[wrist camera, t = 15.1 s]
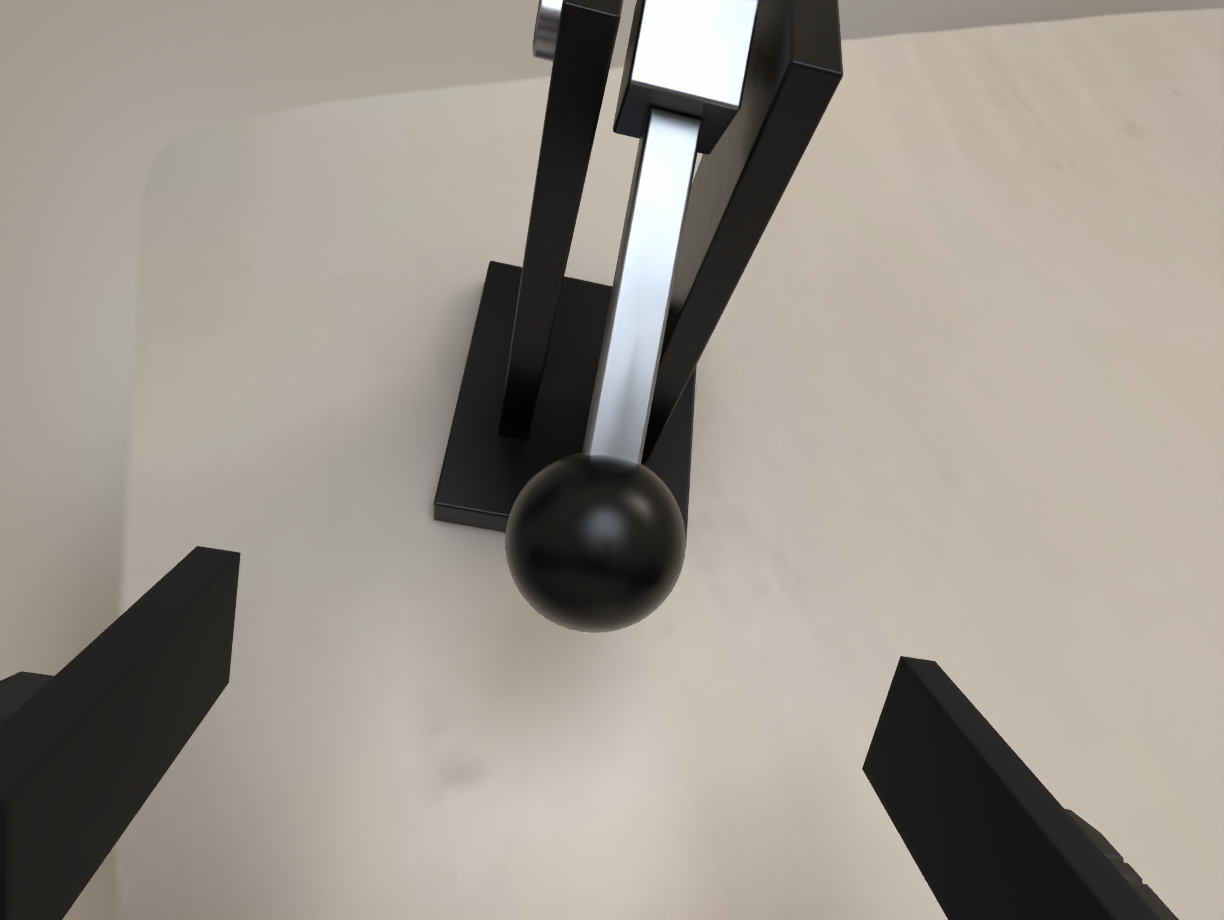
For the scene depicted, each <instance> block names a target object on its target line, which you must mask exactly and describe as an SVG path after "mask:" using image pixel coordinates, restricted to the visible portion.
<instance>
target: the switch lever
mask: <svg viewBox="0 0 1224 920" xmlns="http://www.w3.org/2000/svg"><path fill="white" fill-rule="evenodd" d="M759 4H760V0H637V3H636V6H635V11H634V16H633V22H632V27H631V33H630V38H629V43H628V49H627V54H626V60H625V65H624V70H623V76H622V81H621V87H620V92H619V98H618V103H617V108H616V114H615V119H614V125H613V132H615V133H618V134H622V135H627V136H631V137H635V138H639V139H640V141H639V146H638V151H637V157H636V162H635V168H634V173H633V179H632V184H631V190H630V195H629V201H628V206H627V211H626V217H625V222H624V228H623V233H622V239H621V244H620V250H619V255H618V261H617V266H616V271H615V277H614V282H613V288H612V293H611V299H610V304H609V310H608V315H607V320H606V326H605V331H604V337H603V342H602V348H601V353H600V359H599V364H598V370H597V375H596V380H595V386H594V391H593V397H592V402H591V408H590V413H589V419H588V424H587V430H586V435H585V440H584V446H583V451H582V453H576V454H572V455H569V456H565V457H563V458H561V459H558V460H556V461H554V462H552V463H551V464H549V465H547V466H546V467H544V468H543V469H542V470H540V471H539V472H538V473H537V474H535V475H534V476H533V477H532V478H531V479H530V480H529V481H528V483H527V484H526V485H525V486H524V488H523V489H522V490H521V492H520V493H519V495H518V497H517V499H516V500H515V502H514V504H513V507H512V509H511V512H510V514H509V518H508V522H507V527H506V535H505V550H506V557H507V562H508V566H509V569H510V573H511V575H512V577H513V580H514V582H515V584H516V586H517V587H518V589H519V591H520V592H521V594H522V596H523V597H524V598H525V599H526V600H527V602H528V603H529V604H530V605H531V606H532V607H533V608H534V609H535V610H536V611H537V612H538V613H540V614H541V615H543V616H544V617H545V618H547V619H548V620H550V621H552V622H554V623H556V624H558V625H560V626H563V627H566V628H568V629H572V630H577V631H581V632H591V633H599V632H610V631H615V630H619V629H622V628H625V627H628V626H631V625H633V624H635V623H637V622H639V621H641V620H642V619H644V618H645V617H647V616H648V615H650V614H651V613H652V612H653V611H654V610H656V609H657V608H658V607H659V606H660V605H661V604H662V603H663V602H664V600H665V599H666V598H667V596H668V595H669V594H670V592H671V591H672V589H673V587H674V586H675V584H676V582H677V580H678V577H679V575H680V572H681V570H682V566H683V562H684V557H685V548H686V536H685V528H684V522H683V519H682V515H681V511H680V509H679V507H678V504H677V502H676V500H675V498H674V496H673V495H672V493H671V491H670V490H669V489H668V487H667V486H666V485H665V483H664V482H663V481H662V480H661V479H660V478H659V477H658V476H657V475H656V474H655V473H654V472H652V471H651V470H650V469H648V468H647V467H646V466H644V465H642V464H641V459H642V454H643V448H644V443H645V437H646V432H647V426H648V421H649V415H650V410H651V404H652V399H653V393H654V388H655V382H656V377H657V371H658V366H659V360H660V355H661V349H662V344H663V338H664V333H665V327H666V322H667V316H668V311H669V305H670V300H671V294H672V289H673V284H674V278H675V273H676V267H677V262H678V256H679V251H680V245H681V240H682V234H683V229H684V223H685V218H686V212H687V207H688V201H689V196H690V190H691V185H692V179H693V174H694V168H695V163H696V157H697V152H698V153H702V154H706V155H709V154H710V153H711V152H712V150H713V149H714V147H715V146H716V144H717V143H718V141H719V140H720V138H721V137H722V135H723V134H724V132H725V131H726V129H727V128H728V126H729V124H730V123H731V121H732V120H733V118H734V117H735V115H736V114H737V112H738V111H739V109H740V108H741V103H742V98H743V92H744V87H745V81H746V76H747V70H748V65H749V59H750V54H751V48H752V42H753V37H754V31H755V26H756V20H757V15H758V9H759Z"/></svg>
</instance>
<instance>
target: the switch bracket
mask: <svg viewBox="0 0 1224 920" xmlns="http://www.w3.org/2000/svg"><path fill="white" fill-rule="evenodd" d="M622 4H623V0H540V1H539V7H538V13H537V18H536V25H535V32H534V40H533V56H534V57H536V58H540V59H544V60H549V61H552V62H553V67H552V74H551V81H550V87H549V94H548V101H547V108H546V114H545V121H544V128H543V134H542V141H541V148H540V154H539V161H538V168H537V175H536V181H535V188H534V195H533V201H532V208H531V215H530V221H529V228H528V235H527V242H526V248H525V255H524V262H523V267H518V266H513V265H509V264H504V263H499V262H495V261H490V263H489V266H488V270H487V275H486V279H485V283H484V288H483V292H482V296H481V301H480V305H479V309H478V314H477V318H476V322H475V327H474V331H473V335H472V340H471V344H470V348H469V353H468V357H467V361H466V366H465V370H464V374H463V378H462V383H461V387H460V391H459V396H458V400H457V404H456V409H455V413H454V417H453V422H452V426H451V430H450V435H449V439H448V443H447V448H446V452H445V456H444V461H443V465H442V469H441V474H440V478H439V482H438V487H437V491H436V495H435V500H434V519H436V520H442V521H448V522H454V523H460V524H466V525H471V526H477V527H483V528H489V529H495V530H501V531H506V527H507V522H508V518H509V514H510V512H511V509H512V507H513V504H514V502H515V500H516V499H517V497H518V495H519V493H520V492H521V490H522V489H523V488H524V486H525V485H526V484H527V483H528V481H529V480H530V479H531V478H532V477H533V476H534V475H535V474H537V473H538V472H539V471H540V470H542V469H543V468H544V467H546V466H547V465H549V464H551V463H552V462H554V461H556V460H558V459H561V458H563V457H565V456H569V455H572V454H576V453H582V451H583V446H584V440H585V435H586V430H587V424H588V419H589V413H590V408H591V402H592V397H593V391H594V386H595V380H596V375H597V370H598V364H599V359H600V353H601V348H602V342H603V337H604V331H605V326H606V320H607V315H608V310H609V304H610V299H611V293H612V288H613V287H612V286H607V285H603V284H598V283H593V282H588V281H584V280H579V279H574V278H570V277H565V276H564V274H565V269H566V265H567V260H568V256H569V251H570V246H571V242H572V237H573V233H574V228H575V224H576V219H577V214H578V210H579V205H580V201H581V196H582V192H583V187H584V182H585V178H586V173H587V169H588V164H589V160H590V155H591V150H592V146H593V141H594V137H595V132H596V128H597V123H598V118H599V114H600V109H601V105H602V100H603V96H604V91H605V86H606V82H607V77H608V73H609V68H610V63H611V59H612V54H613V50H614V45H615V40H616V36H617V31H618V27H619V22H620V17H621V11H622ZM842 77H843V66H842V51H841V37H840V23H839V8H838V0H760V4H759V9H758V15H757V20H756V26H755V31H754V37H753V42H752V48H751V54H750V59H749V65H748V70H747V76H746V81H745V87H744V92H743V98H742V103H741V108H740V109H739V111H738V112H737V114H736V115H735V117H734V118H733V120H732V121H731V123H730V124H729V126H728V128H727V129H726V131H725V132H724V134H723V135H722V137H721V138H720V140H719V141H718V143H717V144H716V146H715V147H714V149H713V150H712V152H711V153H710V154H709V155H706V154H703V156H702V158H701V161H700V164H699V166H698V169H697V172H696V174H695V177H694V180H693V183H692V185H691V190H690V196H689V201H688V207H687V212H686V218H685V223H684V229H683V234H682V240H681V245H680V251H679V256H678V262H677V267H676V273H675V278H674V284H673V289H672V294H671V300H670V305H669V311H668V316H667V322H666V327H665V333H664V338H663V344H662V349H661V355H660V360H659V366H658V371H657V377H656V382H655V388H654V393H653V399H652V404H651V410H650V415H649V421H648V426H647V432H646V437H645V443H644V448H643V454H642V459H641V464H642V465H644V466H646V467H647V468H648V469H650V470H651V471H652V472H654V473H655V474H656V475H657V476H658V477H659V478H660V479H661V480H662V481H663V482H664V483H665V485H666V486H667V487H668V489H669V490H670V491H671V493H672V495H673V496H674V498H675V500H676V502H677V504H678V507H679V509H680V511H681V515H682V519H683V522H684V528H685V536H686V539H687V521H688V504H689V486H690V468H691V451H692V433H693V416H694V398H695V381H696V364H697V362H698V360H699V358H700V356H701V355H702V353H703V351H704V349H705V347H706V345H707V343H708V341H709V339H710V337H711V335H712V333H713V331H714V329H715V327H716V325H717V323H718V321H719V319H720V317H721V315H722V313H723V311H724V309H725V307H726V305H727V303H728V301H729V299H730V297H731V295H732V293H733V291H734V290H735V288H736V286H737V284H738V282H739V280H740V278H741V276H742V274H743V272H744V270H745V268H746V266H747V264H748V262H749V260H750V258H751V256H752V254H753V252H754V250H755V248H756V246H757V244H758V242H759V240H760V238H761V236H762V234H763V232H764V230H765V228H766V226H767V224H768V223H769V221H770V219H771V217H772V215H773V213H774V211H775V209H776V207H777V205H778V203H779V201H780V199H781V197H782V195H783V193H784V191H785V189H786V187H787V185H788V183H789V181H790V179H791V177H792V175H793V173H794V171H795V169H796V167H797V165H798V163H799V161H800V159H801V158H802V156H803V154H804V152H805V150H806V148H807V146H808V144H809V142H810V140H811V138H812V136H813V134H814V132H815V130H816V128H817V126H818V124H819V122H820V120H821V118H822V116H823V114H824V112H825V110H826V108H827V106H828V104H829V102H830V100H831V98H832V96H833V94H834V92H835V91H836V89H837V87H838V85H839V83H840V81H841V79H842Z"/></svg>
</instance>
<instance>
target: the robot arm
mask: <svg viewBox="0 0 1224 920" xmlns="http://www.w3.org/2000/svg"><path fill="white" fill-rule="evenodd" d="M239 564H240V553H238V552H232V551H226V550H219V549H213V548H206V547H200V546H197V547H196V548H195V549H194V550H193V551H191V552H190V553H189V554H188V555H187V556H186V557H185V558H184V559H183V560H182V561H180V562H179V563H178V564H177V565H176V566H175V567H174V568H173V569H172V570H171V571H169V572H168V573H167V574H166V575H165V576H164V577H163V578H162V579H161V580H160V581H158V582H157V583H156V584H155V585H154V586H153V587H152V588H151V589H150V590H149V591H148V592H146V593H145V594H144V595H143V596H142V597H141V598H140V599H139V600H138V601H137V602H135V603H134V604H133V605H132V606H131V607H130V608H129V609H128V610H127V611H126V612H124V613H123V614H122V615H121V616H120V617H119V618H118V619H117V620H116V621H115V622H114V623H113V624H111V625H110V626H109V627H108V628H107V629H106V630H105V631H104V632H103V633H101V634H100V635H99V636H98V637H97V638H96V639H95V640H94V641H93V642H92V643H90V644H89V645H88V646H87V647H86V648H85V649H84V650H83V651H82V652H81V653H80V654H78V655H77V656H76V657H75V658H74V659H73V660H72V661H71V662H70V663H69V664H68V665H66V666H65V667H64V668H63V669H62V670H61V671H60V672H59V673H58V674H56V675H55V676H51V675H43V674H36V673H28V672H19V673H17V674H15V675H12V676H10V677H8V678H6V679H4V680H1V681H0V920H62V919H63V917H64V916H65V915H66V913H67V912H68V911H69V909H70V908H71V906H72V905H73V903H74V902H75V901H76V899H77V898H78V896H79V895H80V893H81V892H82V891H83V889H84V888H85V886H86V885H87V883H88V882H89V881H90V879H91V878H92V876H93V875H94V873H95V872H96V871H97V869H98V868H99V866H100V865H101V864H102V862H103V861H104V859H105V858H106V856H107V855H108V854H109V852H110V851H111V849H112V848H113V846H114V845H115V844H116V842H117V841H118V839H119V838H120V837H121V835H122V834H123V832H124V831H125V829H126V828H127V827H128V825H129V824H130V822H131V821H132V819H133V818H134V817H135V815H136V814H137V812H138V811H139V810H140V808H141V807H142V805H143V804H144V802H145V801H146V800H147V798H148V797H149V795H150V794H151V792H152V791H153V790H154V788H155V787H156V785H157V784H158V782H159V781H160V780H161V778H162V777H163V775H164V774H165V773H166V771H167V770H168V768H169V767H170V765H171V764H172V763H173V761H174V760H175V758H176V757H177V755H178V754H179V753H180V751H181V750H182V748H183V747H184V745H185V744H186V743H187V741H188V740H189V738H190V737H191V736H192V734H193V733H194V731H195V730H196V728H197V727H198V726H199V724H200V723H201V721H202V720H203V718H204V717H205V716H206V714H207V713H208V711H209V710H210V708H211V707H212V706H213V704H214V703H215V701H216V700H217V699H218V697H219V696H220V694H221V693H222V691H223V690H224V689H225V687H226V686H227V684H228V683H229V675H230V664H231V653H232V642H233V630H234V619H235V608H236V597H237V586H238V575H239ZM862 769H863V771H864V773H865V774H866V776H867V778H868V780H869V781H870V783H871V785H872V787H873V789H874V790H875V792H876V794H877V796H878V797H879V799H880V801H881V803H882V804H883V806H884V808H885V810H886V811H887V813H888V815H889V817H890V818H891V820H892V822H893V824H894V825H895V827H896V829H897V831H898V832H899V834H900V836H901V838H902V839H903V841H904V843H905V845H906V846H907V848H908V850H909V852H910V853H911V855H912V857H913V859H914V860H915V862H916V864H917V866H918V867H919V869H920V871H921V873H922V875H923V876H924V878H925V880H926V882H927V883H928V885H929V887H930V889H931V890H932V892H933V894H934V896H935V897H936V899H937V901H938V903H939V904H940V906H941V908H942V910H943V911H944V913H945V915H946V917H947V918H948V920H1179V919H1178V918H1177V917H1176V916H1175V915H1174V914H1173V913H1172V912H1171V911H1170V909H1169V908H1168V907H1167V906H1166V905H1165V904H1164V903H1163V902H1162V901H1161V899H1160V898H1159V897H1158V896H1157V895H1156V894H1155V893H1154V892H1153V891H1152V889H1151V888H1150V887H1149V886H1148V885H1147V884H1143V883H1142V878H1141V877H1140V876H1139V875H1138V874H1137V873H1136V872H1135V871H1134V869H1133V868H1132V867H1131V866H1130V865H1129V864H1128V863H1124V862H1123V859H1124V858H1123V857H1122V856H1121V855H1120V854H1119V853H1118V852H1117V851H1116V850H1115V848H1114V847H1113V846H1112V845H1111V844H1110V843H1109V842H1108V841H1107V840H1106V838H1105V837H1104V836H1103V835H1102V834H1101V833H1100V832H1099V831H1097V830H1096V829H1095V828H1093V827H1092V826H1091V825H1089V824H1088V823H1087V822H1086V821H1084V820H1083V819H1082V818H1080V817H1079V816H1078V815H1076V814H1075V813H1074V812H1072V811H1071V810H1068V809H1064V808H1063V807H1062V806H1061V805H1060V803H1059V802H1058V801H1057V800H1056V799H1055V798H1054V797H1053V795H1052V794H1051V793H1050V792H1049V791H1048V790H1047V789H1046V787H1045V786H1044V785H1043V784H1042V783H1041V782H1040V781H1039V779H1038V778H1037V777H1036V776H1035V775H1034V774H1033V773H1032V771H1031V770H1030V769H1029V768H1028V767H1027V766H1026V765H1025V763H1024V762H1023V761H1022V760H1021V759H1020V758H1019V757H1018V755H1017V754H1016V753H1015V752H1014V751H1013V750H1012V749H1011V747H1010V746H1009V745H1008V744H1007V743H1006V742H1005V741H1004V739H1003V738H1002V737H1001V736H1000V735H999V734H998V733H997V731H996V730H995V729H994V728H993V727H992V726H991V725H990V724H989V722H988V721H987V720H986V719H985V718H984V717H983V716H982V714H981V713H980V712H979V711H978V710H977V709H976V708H975V706H974V705H973V704H972V703H971V702H970V701H969V700H968V698H967V697H966V696H965V695H964V694H963V693H962V692H961V690H960V689H959V688H958V687H957V686H956V685H955V684H954V682H953V681H952V680H951V679H950V678H949V677H948V676H947V674H946V673H945V672H944V671H943V670H942V669H941V668H940V666H939V665H938V664H937V663H936V662H935V661H929V660H923V659H916V658H910V657H903V656H901V657H900V660H899V663H898V666H897V668H896V671H895V674H894V677H893V680H892V683H891V686H890V689H889V692H888V695H887V698H886V701H885V704H884V707H883V709H882V712H881V715H880V718H879V721H878V724H877V727H876V730H875V733H874V736H873V739H872V742H871V745H870V748H869V750H868V753H867V756H866V759H865V762H864V765H863V768H862Z"/></svg>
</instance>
